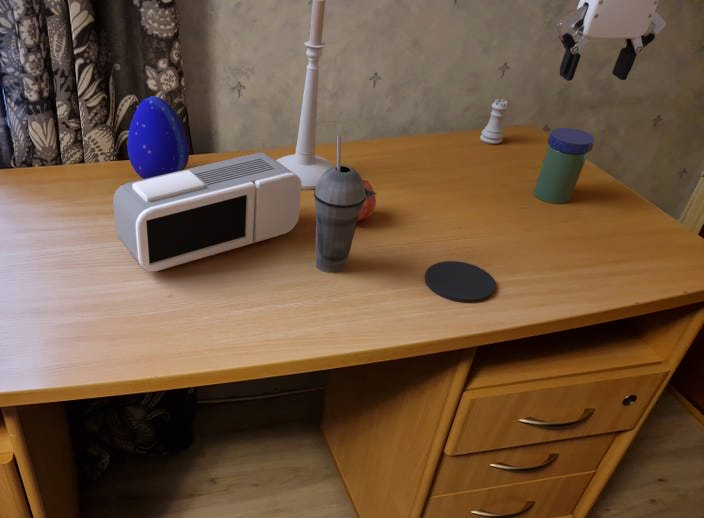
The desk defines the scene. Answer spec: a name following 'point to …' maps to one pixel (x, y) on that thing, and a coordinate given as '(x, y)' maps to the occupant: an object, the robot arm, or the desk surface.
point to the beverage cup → (337, 214)
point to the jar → (558, 176)
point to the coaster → (460, 281)
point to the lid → (571, 140)
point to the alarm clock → (206, 210)
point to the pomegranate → (367, 202)
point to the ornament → (156, 140)
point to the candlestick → (310, 111)
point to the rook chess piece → (495, 123)
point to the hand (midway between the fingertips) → (592, 77)
